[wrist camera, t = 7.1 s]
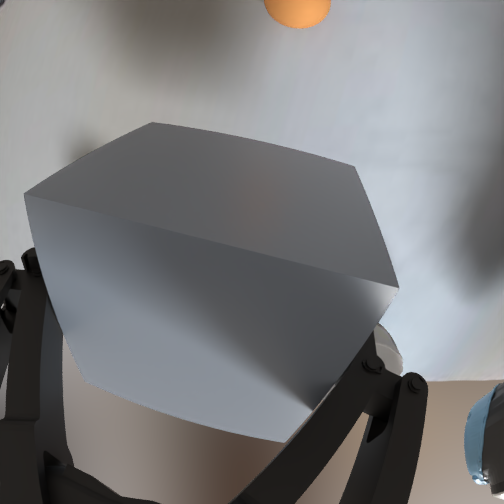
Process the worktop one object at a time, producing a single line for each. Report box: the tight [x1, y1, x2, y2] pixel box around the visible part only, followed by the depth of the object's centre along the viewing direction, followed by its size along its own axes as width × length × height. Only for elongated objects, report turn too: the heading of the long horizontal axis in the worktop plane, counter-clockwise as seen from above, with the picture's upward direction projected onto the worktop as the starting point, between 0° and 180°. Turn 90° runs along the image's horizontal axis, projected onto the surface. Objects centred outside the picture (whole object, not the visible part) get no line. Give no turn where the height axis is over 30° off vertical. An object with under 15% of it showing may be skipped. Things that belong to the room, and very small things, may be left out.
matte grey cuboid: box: [24, 122, 399, 443], centre depth 13 cm, size 10×10×9 cm
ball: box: [264, 0, 331, 28], centre depth 17 cm, size 5×5×5 cm
